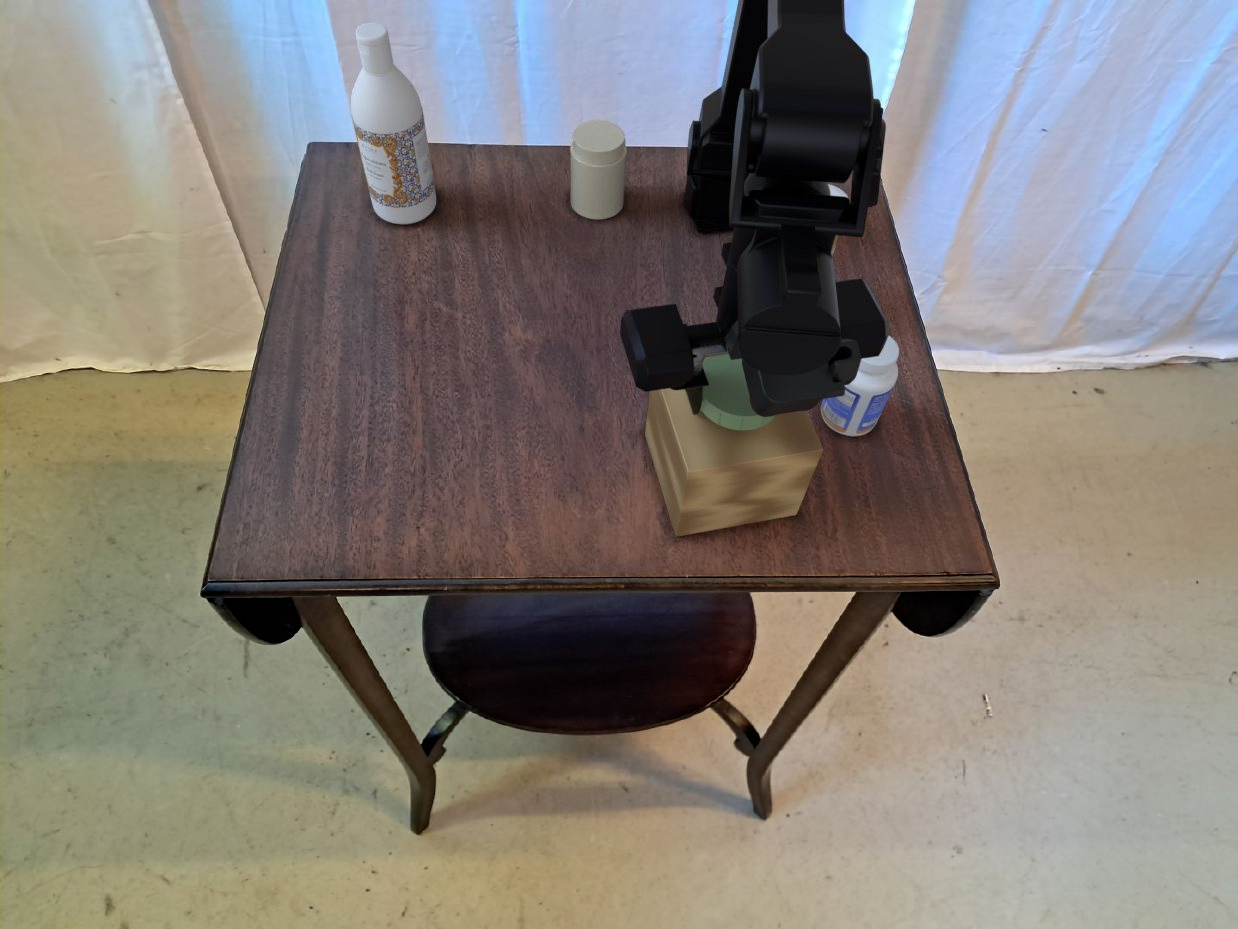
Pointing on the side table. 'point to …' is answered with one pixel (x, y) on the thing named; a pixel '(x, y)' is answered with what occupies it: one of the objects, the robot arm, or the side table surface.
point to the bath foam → (391, 133)
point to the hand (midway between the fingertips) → (736, 403)
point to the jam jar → (597, 169)
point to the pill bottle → (864, 394)
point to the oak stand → (727, 465)
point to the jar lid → (729, 395)
